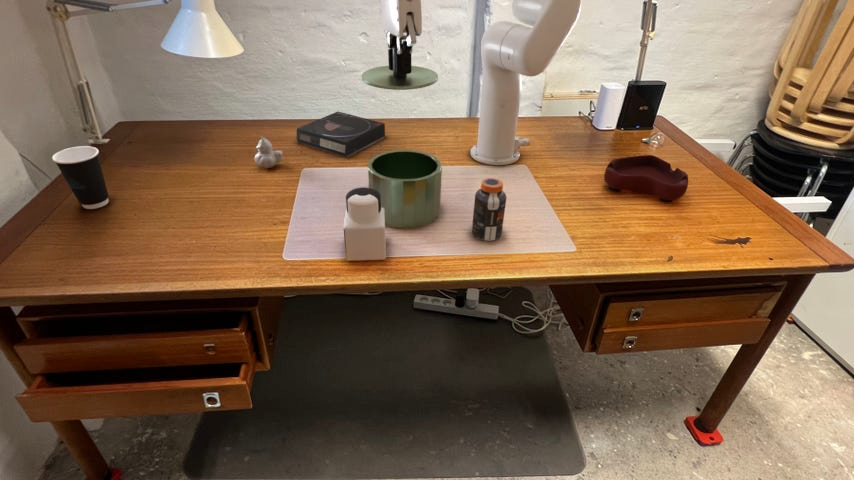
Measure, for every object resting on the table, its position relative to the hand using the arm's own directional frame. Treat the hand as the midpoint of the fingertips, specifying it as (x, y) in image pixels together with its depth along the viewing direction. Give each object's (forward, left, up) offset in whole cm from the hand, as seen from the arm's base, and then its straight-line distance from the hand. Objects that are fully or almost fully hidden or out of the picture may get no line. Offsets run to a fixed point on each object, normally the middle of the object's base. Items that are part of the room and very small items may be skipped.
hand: (400, 70), depth 103 cm
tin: (+5, +13, -25) cm, 28 cm away
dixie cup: (+63, -16, -25) cm, 69 cm away
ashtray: (-51, +25, -25) cm, 62 cm away
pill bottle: (-6, +28, -25) cm, 38 cm away
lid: (0, 0, -1) cm, 1 cm away
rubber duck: (+26, -20, -25) cm, 41 cm away
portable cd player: (+5, -29, -25) cm, 39 cm away
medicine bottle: (+17, +24, -25) cm, 39 cm away
